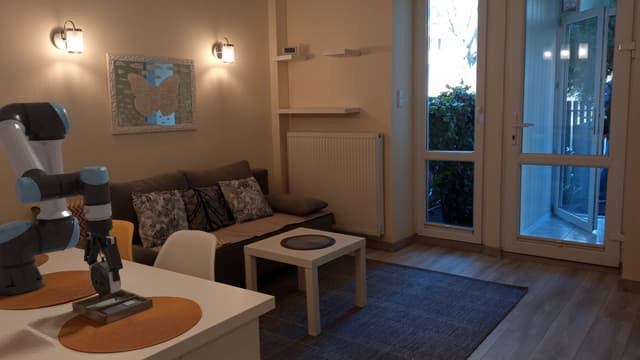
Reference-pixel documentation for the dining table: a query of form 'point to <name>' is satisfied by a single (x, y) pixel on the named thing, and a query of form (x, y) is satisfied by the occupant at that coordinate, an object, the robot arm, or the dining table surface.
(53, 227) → the robot arm
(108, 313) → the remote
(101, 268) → the alarm clock
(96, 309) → the organizer tray
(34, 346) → the dining table surface
